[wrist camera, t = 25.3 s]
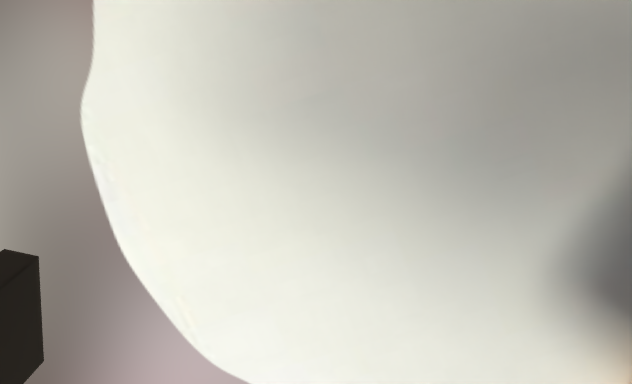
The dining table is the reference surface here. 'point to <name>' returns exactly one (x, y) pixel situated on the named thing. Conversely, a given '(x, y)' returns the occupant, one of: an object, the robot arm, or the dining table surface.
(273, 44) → the dining table surface
